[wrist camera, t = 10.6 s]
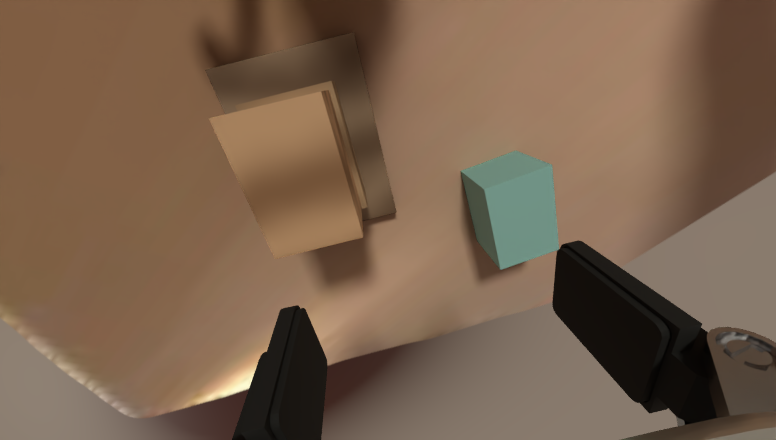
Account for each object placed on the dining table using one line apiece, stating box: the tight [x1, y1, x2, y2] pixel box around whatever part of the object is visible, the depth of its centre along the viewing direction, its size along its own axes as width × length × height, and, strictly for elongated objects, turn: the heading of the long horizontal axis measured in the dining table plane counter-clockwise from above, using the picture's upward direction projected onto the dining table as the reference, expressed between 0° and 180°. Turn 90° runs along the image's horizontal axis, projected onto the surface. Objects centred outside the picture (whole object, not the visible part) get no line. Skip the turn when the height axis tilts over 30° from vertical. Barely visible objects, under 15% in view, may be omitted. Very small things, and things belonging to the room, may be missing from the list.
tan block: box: [209, 90, 364, 259], centre depth 20 cm, size 9×6×6 cm, turn 12°
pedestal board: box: [205, 32, 396, 221], centre depth 25 cm, size 16×12×5 cm
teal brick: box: [461, 151, 559, 270], centre depth 29 cm, size 9×6×6 cm, turn 19°
